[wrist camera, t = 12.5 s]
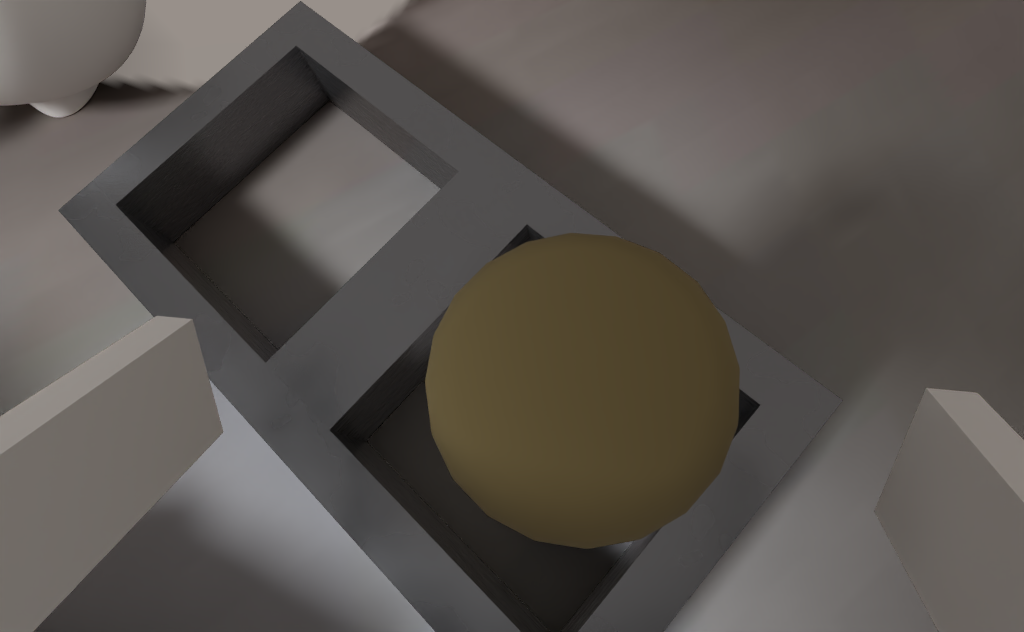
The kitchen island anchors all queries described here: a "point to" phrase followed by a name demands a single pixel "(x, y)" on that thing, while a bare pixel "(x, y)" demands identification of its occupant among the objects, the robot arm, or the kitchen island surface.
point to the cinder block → (402, 324)
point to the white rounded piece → (63, 49)
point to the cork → (583, 390)
